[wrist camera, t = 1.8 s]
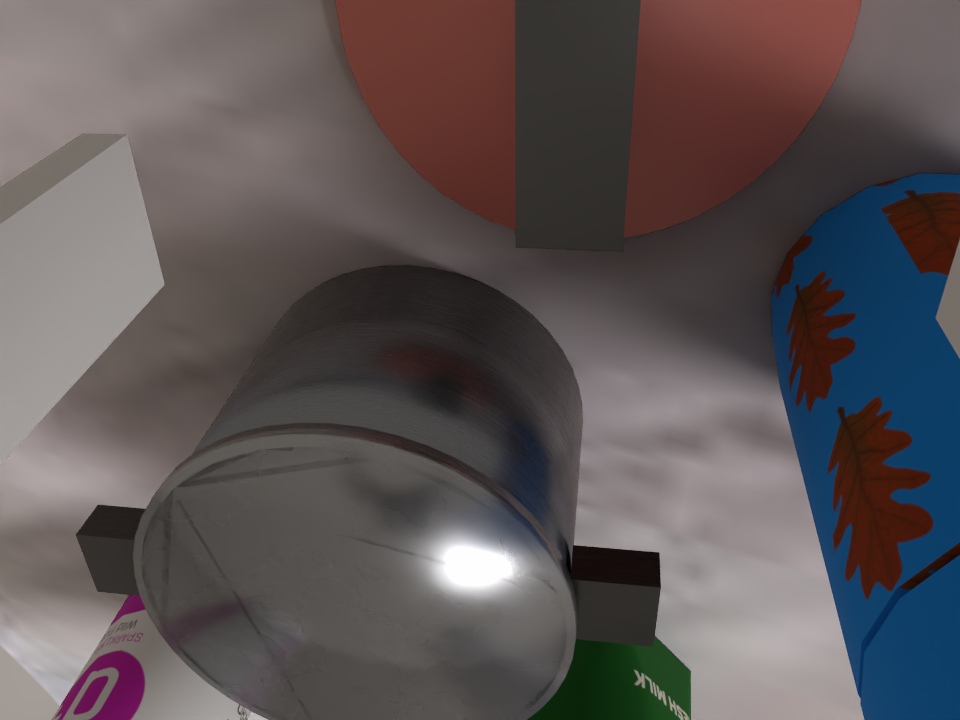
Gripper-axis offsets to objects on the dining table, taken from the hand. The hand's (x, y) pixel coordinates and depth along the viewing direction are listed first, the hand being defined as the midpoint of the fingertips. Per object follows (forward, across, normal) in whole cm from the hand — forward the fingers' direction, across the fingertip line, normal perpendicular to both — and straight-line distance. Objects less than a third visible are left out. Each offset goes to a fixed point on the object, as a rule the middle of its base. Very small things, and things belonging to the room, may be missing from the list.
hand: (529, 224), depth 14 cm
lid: (+19, 0, 0) cm, 19 cm away
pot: (+19, +7, +18) cm, 27 cm away
